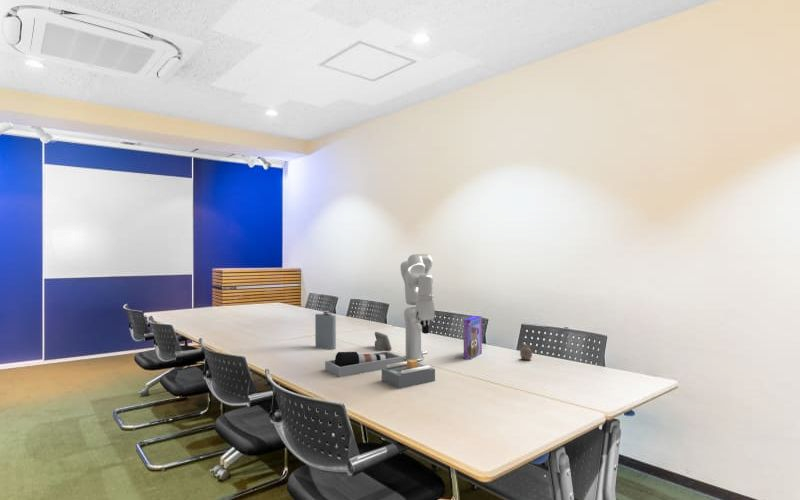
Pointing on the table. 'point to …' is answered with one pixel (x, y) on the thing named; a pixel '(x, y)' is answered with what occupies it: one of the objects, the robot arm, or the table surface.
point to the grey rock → (382, 342)
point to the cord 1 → (396, 365)
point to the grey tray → (362, 365)
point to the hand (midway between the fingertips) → (425, 333)
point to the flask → (325, 330)
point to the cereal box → (472, 337)
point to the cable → (355, 358)
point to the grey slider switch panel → (407, 376)
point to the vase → (526, 353)
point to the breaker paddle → (412, 364)
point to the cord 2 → (415, 369)
